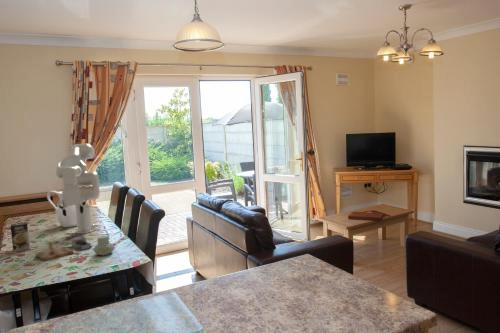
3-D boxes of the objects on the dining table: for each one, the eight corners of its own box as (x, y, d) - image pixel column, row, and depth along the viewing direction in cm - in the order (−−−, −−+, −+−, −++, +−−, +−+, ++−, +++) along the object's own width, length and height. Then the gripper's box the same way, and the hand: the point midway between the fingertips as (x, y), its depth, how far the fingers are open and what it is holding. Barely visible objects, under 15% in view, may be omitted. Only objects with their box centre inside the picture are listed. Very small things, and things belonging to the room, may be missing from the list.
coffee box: (13, 252, 237) (9, 226, 235) (13, 249, 243) (10, 224, 241) (30, 249, 241) (27, 223, 239) (30, 246, 247) (27, 221, 245)
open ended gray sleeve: (91, 247, 236) (90, 239, 236) (80, 250, 232) (79, 242, 231) (82, 243, 246) (81, 235, 246) (71, 246, 242) (71, 238, 241)
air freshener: (93, 257, 218) (91, 240, 217) (95, 253, 226) (93, 236, 225) (114, 254, 221) (112, 237, 220) (114, 250, 229) (113, 233, 228)
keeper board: (64, 248, 237) (63, 235, 236) (73, 253, 227) (71, 239, 226) (36, 256, 226) (34, 241, 226) (43, 261, 216) (41, 246, 215)
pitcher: (86, 222, 304) (82, 187, 301) (74, 228, 287) (70, 191, 284) (57, 223, 306) (53, 188, 303) (44, 229, 289) (40, 192, 286)
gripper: (83, 184, 247) (86, 211, 248) (53, 188, 236) (56, 216, 237) (87, 185, 241) (89, 212, 243) (56, 189, 230) (60, 217, 232)
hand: (73, 214), depth 240 cm, fingers open, 9 cm apart
